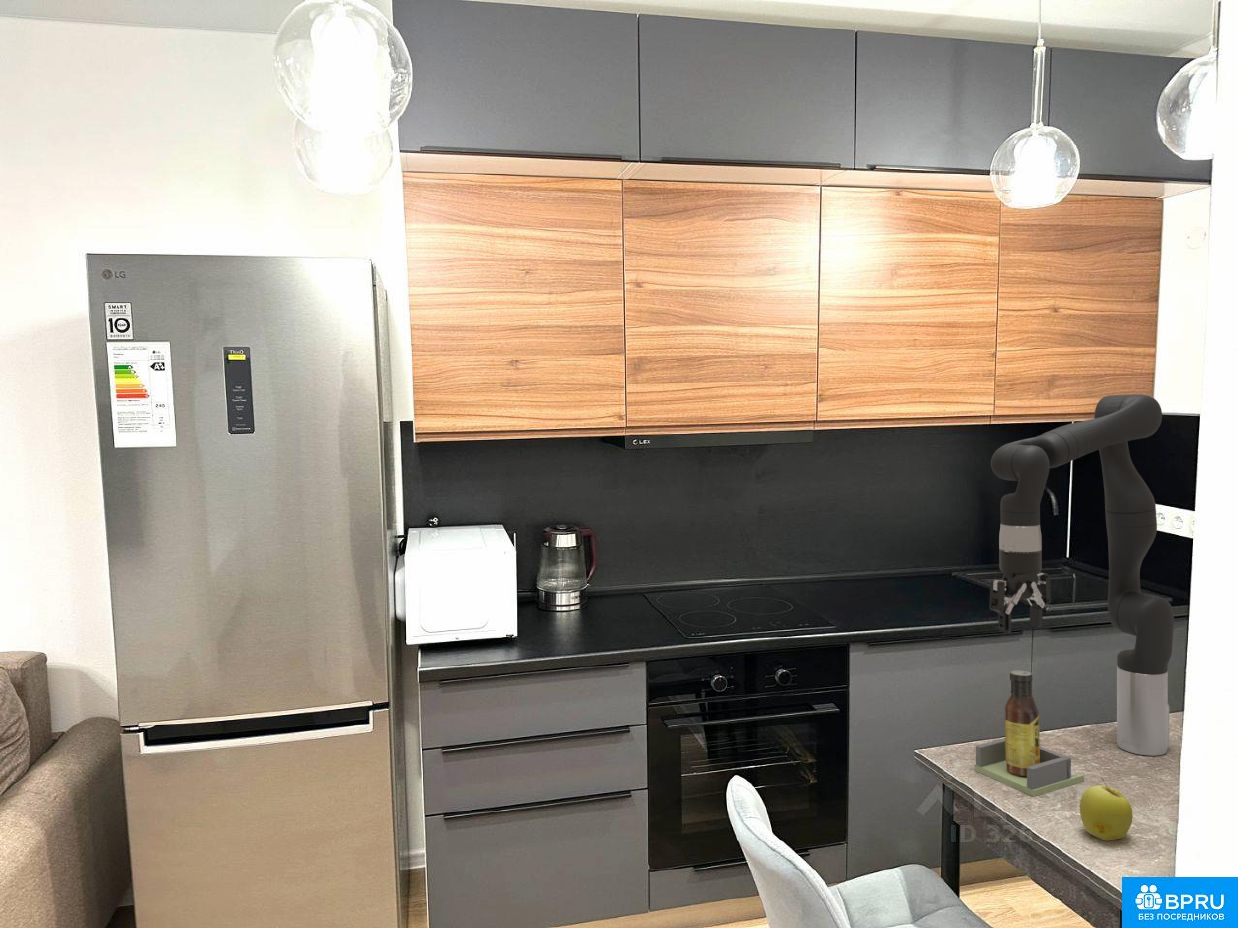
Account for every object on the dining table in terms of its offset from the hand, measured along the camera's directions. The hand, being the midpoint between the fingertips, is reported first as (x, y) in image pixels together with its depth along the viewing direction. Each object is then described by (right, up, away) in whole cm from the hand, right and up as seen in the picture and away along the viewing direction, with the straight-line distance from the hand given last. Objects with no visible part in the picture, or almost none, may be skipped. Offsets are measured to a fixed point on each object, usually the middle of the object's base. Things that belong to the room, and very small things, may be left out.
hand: (1020, 629), depth 173 cm
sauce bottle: (+1, -29, +2) cm, 29 cm away
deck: (+3, -30, +3) cm, 30 cm away
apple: (+5, -31, -22) cm, 39 cm away
